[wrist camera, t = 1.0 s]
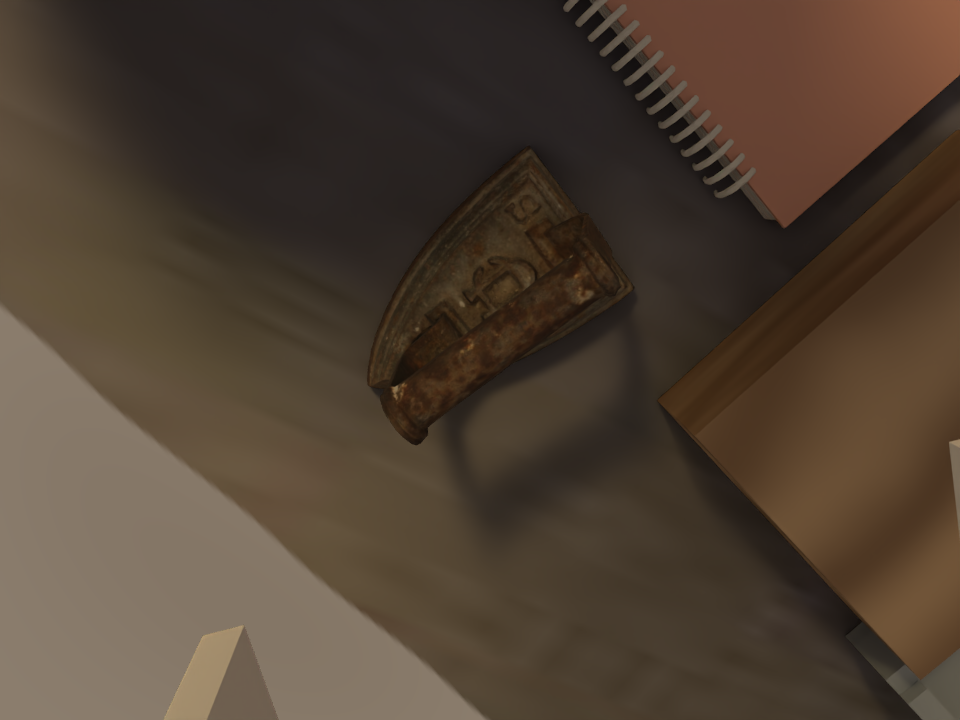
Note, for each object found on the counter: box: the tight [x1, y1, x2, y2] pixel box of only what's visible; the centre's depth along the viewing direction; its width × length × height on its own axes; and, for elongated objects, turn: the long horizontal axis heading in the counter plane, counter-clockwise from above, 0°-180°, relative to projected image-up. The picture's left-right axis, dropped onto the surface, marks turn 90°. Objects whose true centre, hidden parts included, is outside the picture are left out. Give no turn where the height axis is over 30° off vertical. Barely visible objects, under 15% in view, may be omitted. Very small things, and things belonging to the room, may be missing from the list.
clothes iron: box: [367, 146, 634, 445], centre depth 30 cm, size 7×11×10 cm, turn 129°
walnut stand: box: [657, 130, 960, 680], centre depth 32 cm, size 14×16×5 cm
